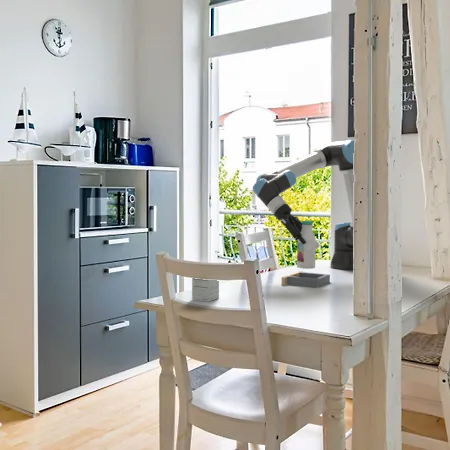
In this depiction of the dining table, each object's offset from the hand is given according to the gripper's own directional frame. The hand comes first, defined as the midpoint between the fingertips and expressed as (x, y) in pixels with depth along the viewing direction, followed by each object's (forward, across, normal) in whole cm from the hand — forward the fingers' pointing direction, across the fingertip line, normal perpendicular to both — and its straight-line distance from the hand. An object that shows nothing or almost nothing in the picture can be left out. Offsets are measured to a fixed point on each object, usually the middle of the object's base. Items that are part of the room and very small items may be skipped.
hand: (314, 248), depth 235 cm
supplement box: (-4, +51, -27) cm, 58 cm away
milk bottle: (+4, 0, -9) cm, 9 cm away
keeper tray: (+9, -1, -13) cm, 15 cm away
